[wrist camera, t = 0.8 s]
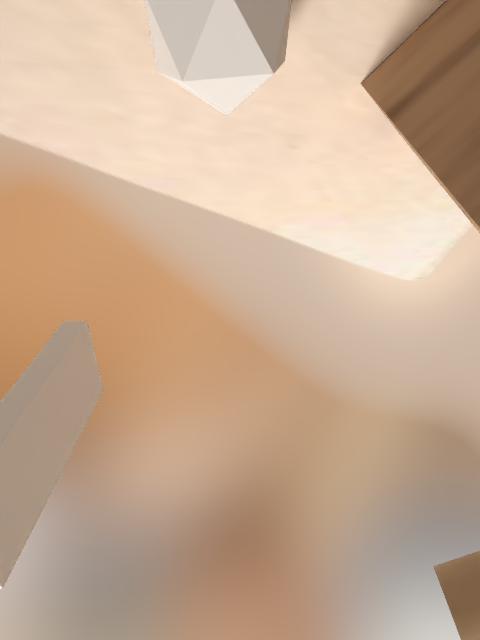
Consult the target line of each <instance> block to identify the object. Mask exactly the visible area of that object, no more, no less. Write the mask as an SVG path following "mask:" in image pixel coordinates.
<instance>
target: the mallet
mask: <svg viewBox="0 0 480 640" xmlns="http://www.w3.org/2000/svg"><path fill="white" fill-rule="evenodd" d="M434 569H435V571H436V574H437V577H438V580H439V582H440V585H441V587H442V590H443V593H444V595H445V598H446V601H447V603H448V606H449V609H450V611H451V614H452V617H453V619H454V622H455V625H456V627H457V630H458V633H459V635H460V638H461V640H480V551H478V552H475V553H472V554H469V555H466V556H463V557H460V558H457V559H454V560H451V561H448V562H445V563H442V564H439V565H436V566H434Z"/></svg>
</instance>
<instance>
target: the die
mask: <svg viewBox="0 0 480 640" xmlns="http://www.w3.org/2000/svg"><path fill="white" fill-rule="evenodd" d="M144 3H145V8H146V14H147V19H148V24H149V30H150V35H151V41H152V46H153V52H154V57H155V63H156V68H157V72H159V73H160V74H162V75H163V76H165V77H167V78H168V79H170V80H171V81H173V82H175V83H176V84H178V85H179V86H181V87H182V88H184V89H186V90H187V91H189V92H190V93H192V94H194V95H195V96H197V97H198V98H200V99H201V100H203V101H205V102H206V103H208V104H209V105H211V106H213V107H214V108H216V109H217V110H219V111H220V112H222V113H224V114H225V115H228V114H229V113H230V112H231V111H232V110H233V109H234V108H235V107H237V106H238V105H239V104H240V103H241V102H242V101H243V100H245V99H246V98H247V97H248V96H249V95H250V94H251V93H252V92H254V91H255V90H256V89H257V88H258V87H259V86H260V85H261V84H263V83H264V82H265V81H266V80H267V79H268V78H269V77H270V76H272V75H273V74H274V73H275V72H276V70H277V69H278V68H279V67H280V66H281V65H282V63H283V62H284V61H285V55H286V46H287V37H288V28H289V18H290V9H291V0H144Z"/></svg>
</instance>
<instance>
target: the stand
mask: <svg viewBox="0 0 480 640" xmlns="http://www.w3.org/2000/svg"><path fill="white" fill-rule="evenodd" d="M361 84H362V86H363V87H364V88H365V90H366V91H367V92H368V93H369V95H370V96H371V97H372V99H373V100H374V101H375V102H376V104H377V105H378V106H379V108H380V109H381V110H382V111H383V113H384V114H385V115H386V117H387V118H388V119H389V120H390V122H391V123H392V124H393V126H394V127H395V128H396V129H397V131H398V132H399V133H400V135H401V136H402V137H403V138H404V140H405V141H406V142H407V144H408V145H409V146H410V147H411V149H412V150H413V151H414V152H415V154H416V155H417V156H418V157H419V159H420V160H421V161H422V162H423V164H424V165H425V166H426V167H427V169H428V170H429V171H430V172H431V173H432V175H433V176H434V177H435V178H436V180H437V181H438V182H439V183H440V185H441V186H442V187H443V188H444V189H445V191H446V192H447V193H448V194H449V196H450V197H451V198H452V199H453V201H454V202H455V203H456V204H457V205H458V207H459V208H460V209H461V210H462V212H463V213H464V214H465V215H466V217H467V218H468V219H469V220H470V221H471V223H472V224H473V225H474V226H475V228H476V229H477V230H478V231H479V233H480V0H447V1H446V2H445V3H444V4H443V5H442V6H441V7H440V8H439V9H438V10H437V11H436V12H435V13H434V14H433V15H431V16H430V17H429V18H428V19H427V20H426V21H425V22H424V23H423V24H422V25H421V26H420V27H419V28H418V29H417V30H416V31H415V32H414V33H413V34H412V35H411V36H410V37H409V38H408V39H407V40H406V41H405V42H404V43H403V44H401V45H400V46H399V47H398V48H397V49H396V50H395V51H394V52H393V53H392V54H391V55H390V56H389V57H388V58H387V59H386V60H385V61H384V62H383V63H382V64H381V65H380V66H379V67H378V68H377V69H376V70H375V71H374V72H372V73H371V74H370V75H369V76H368V77H367V78H366V79H365V80H364V81H363V82H362V83H361Z"/></svg>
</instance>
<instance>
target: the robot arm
mask: <svg viewBox="0 0 480 640" xmlns="http://www.w3.org/2000/svg"><path fill="white" fill-rule="evenodd" d="M102 391H103V387H102V383H101V379H100V374H99V370H98V366H97V361H96V357H95V353H94V348H93V344H92V339H91V335H90V331H89V326H88V322H87V321H63V322H62V323H61V324H60V325H59V327H58V328H57V329H56V331H55V332H54V333H53V335H52V336H51V337H50V338H49V340H48V341H47V342H46V343H45V345H44V346H43V347H42V349H41V350H40V351H39V352H38V354H37V355H36V356H35V358H34V359H33V360H32V361H31V363H30V364H29V365H28V367H27V368H26V369H25V370H24V372H23V373H22V374H21V376H20V377H19V378H18V379H17V380H16V382H15V383H14V385H13V386H12V387H11V388H10V389H9V391H8V392H7V393H6V395H5V396H4V397H3V398H2V400H1V401H0V589H3V587H4V585H5V583H6V581H7V579H8V577H9V575H10V573H11V571H12V569H13V567H14V565H15V563H16V561H17V559H18V557H19V555H20V553H21V551H22V549H23V547H24V545H25V544H26V541H27V540H28V538H29V535H30V534H31V532H32V530H33V528H34V525H35V524H36V522H37V520H38V518H39V516H40V514H41V512H42V510H43V508H44V506H45V504H46V502H47V500H48V498H49V496H50V494H51V492H52V490H53V488H54V486H55V484H56V482H57V480H58V478H59V476H60V474H61V472H62V470H63V469H64V467H65V465H66V463H67V460H68V459H69V457H70V455H71V453H72V451H73V449H74V447H75V445H76V443H77V441H78V439H79V437H80V435H81V433H82V431H83V429H84V427H85V425H86V423H87V421H88V419H89V417H90V415H91V413H92V411H93V409H94V407H95V405H96V403H97V401H98V399H99V397H100V395H101V393H102Z"/></svg>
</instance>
